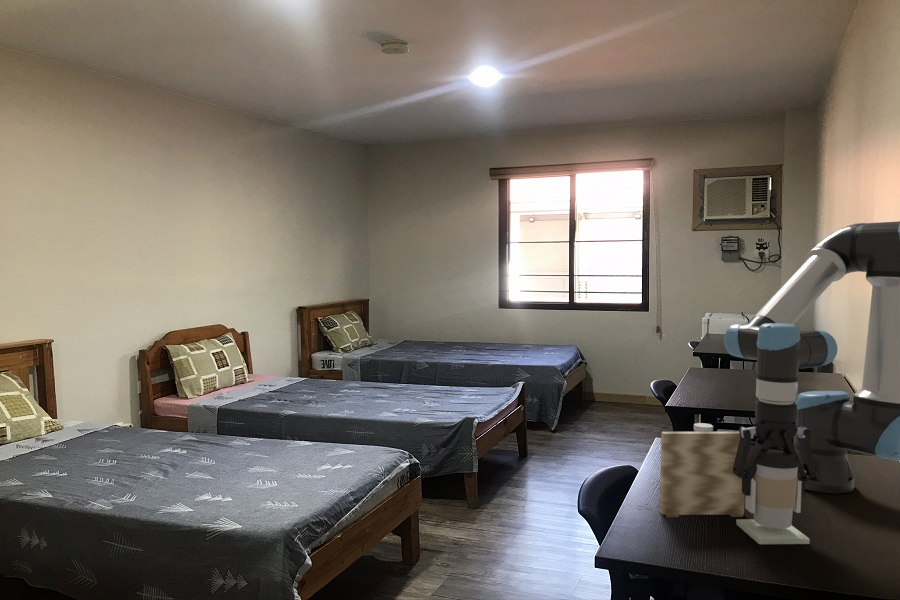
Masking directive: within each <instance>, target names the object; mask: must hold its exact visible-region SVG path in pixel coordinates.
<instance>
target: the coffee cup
mask: <svg viewBox="0 0 900 600" xmlns="http://www.w3.org/2000/svg"><path fill="white" fill-rule="evenodd" d="M750 455H751V453H749V456H750ZM752 457H753V456H752ZM753 458H754V457H753ZM756 460H757V462H756V464H757V470H756V472H755V474H754V476H753V478H752V479H753V480H755V481H756V498H755V513H752V514H753V519H754V521H755V522H756V523H758V524H760V525H762V526H766V527H770V528H778V529H783V528H789V527H790V526H791V525H792V521H793V513H794V511H793V507H794V505H795V497H796V488H797V480H798V476H797V471H798V466H799V459H798V458H795V456H794V454H793V453H791V454H789V453H787V452H785V451H784V449H783V448H782V447H778V446H776V447H770V448H769V450H768V451H767V452H766V453H762V454H761V456H760V458H757V459H756Z"/></svg>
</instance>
